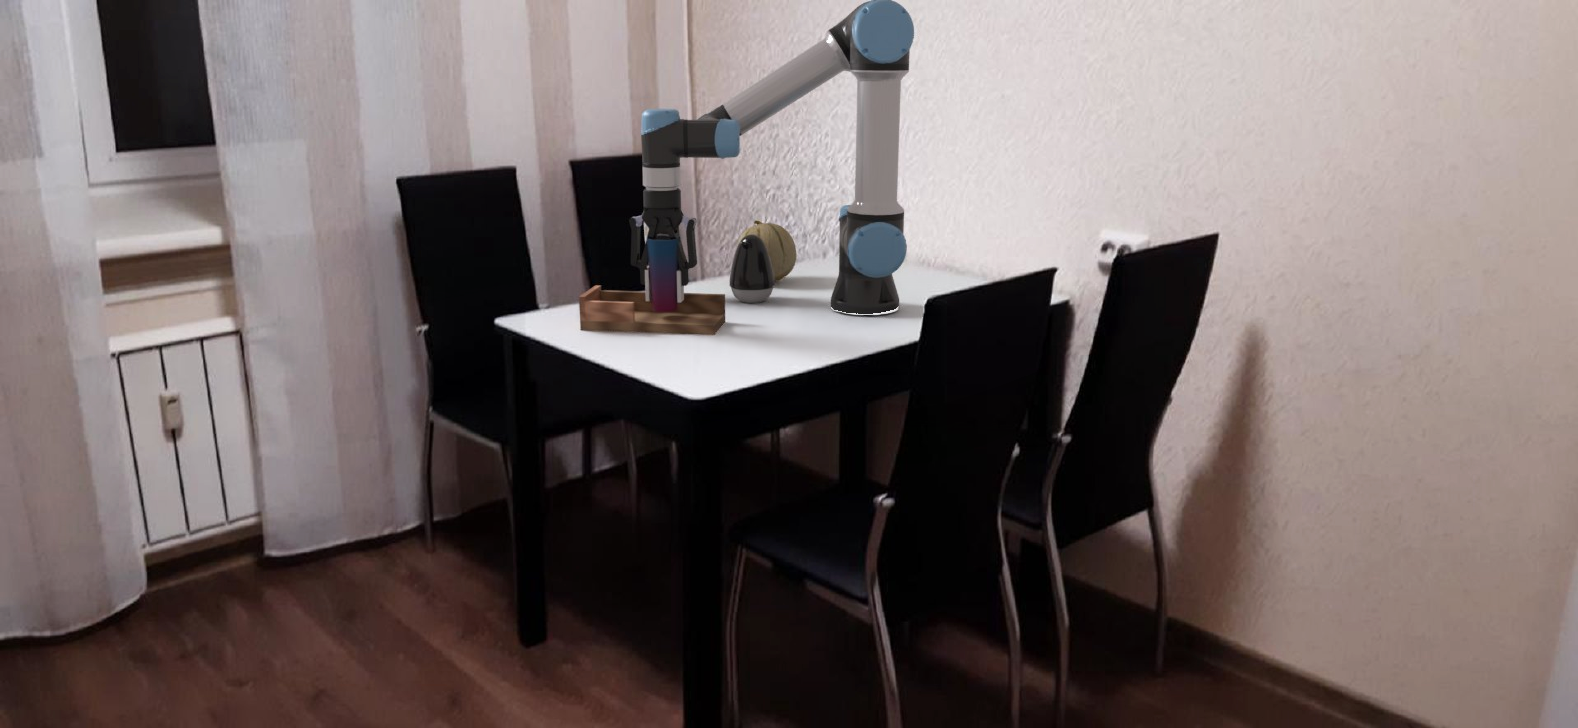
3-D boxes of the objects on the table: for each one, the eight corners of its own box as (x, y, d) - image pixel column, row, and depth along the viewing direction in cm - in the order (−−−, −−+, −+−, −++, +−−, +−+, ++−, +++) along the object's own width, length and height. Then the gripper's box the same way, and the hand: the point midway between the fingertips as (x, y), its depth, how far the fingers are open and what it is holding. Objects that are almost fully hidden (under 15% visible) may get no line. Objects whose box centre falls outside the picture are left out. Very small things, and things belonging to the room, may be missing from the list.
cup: (676, 314, 235) (674, 240, 230) (644, 312, 236) (641, 239, 232) (685, 306, 241) (684, 235, 237) (654, 304, 242) (652, 234, 238)
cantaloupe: (787, 290, 272) (787, 227, 268) (728, 287, 276) (727, 224, 272) (803, 278, 286) (804, 218, 282) (747, 274, 290) (746, 215, 286)
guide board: (725, 322, 243) (724, 289, 241) (714, 335, 233) (713, 301, 231) (596, 317, 247) (595, 285, 245) (580, 330, 237) (578, 296, 235)
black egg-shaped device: (721, 303, 260) (720, 236, 255) (741, 294, 269) (740, 229, 265) (763, 307, 256) (763, 239, 252) (781, 297, 265) (781, 232, 261)
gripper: (712, 186, 234) (713, 298, 240) (621, 184, 236) (625, 294, 243) (704, 191, 227) (706, 306, 233) (610, 189, 229) (615, 302, 236)
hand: (664, 300), depth 238 cm, fingers closed on cup, 6 cm apart
